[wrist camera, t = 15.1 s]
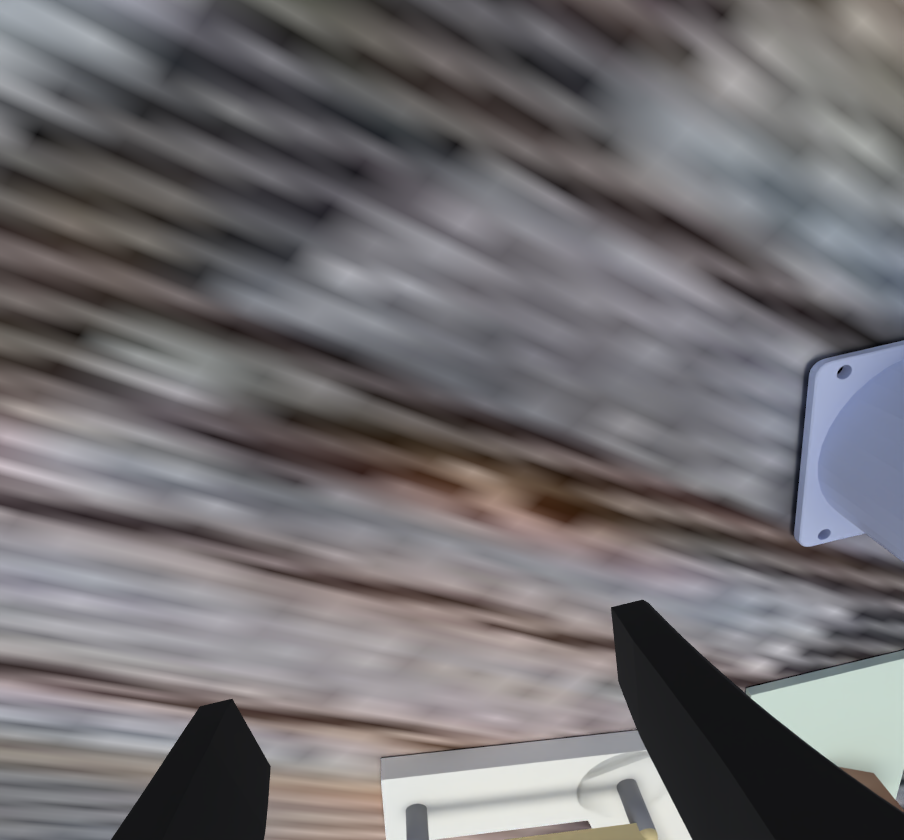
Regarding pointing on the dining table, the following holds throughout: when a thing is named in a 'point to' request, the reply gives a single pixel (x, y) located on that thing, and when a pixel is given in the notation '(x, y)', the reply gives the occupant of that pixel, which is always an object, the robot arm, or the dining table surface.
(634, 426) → the dining table surface
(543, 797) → the wire track
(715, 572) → the dining table surface
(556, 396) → the dining table surface
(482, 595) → the dining table surface
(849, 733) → the end mat
